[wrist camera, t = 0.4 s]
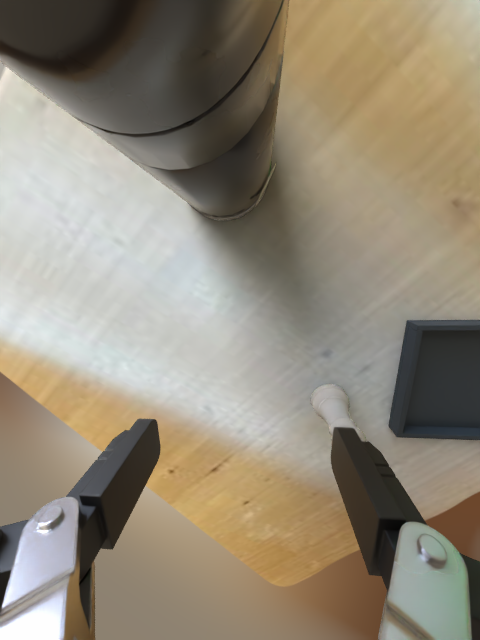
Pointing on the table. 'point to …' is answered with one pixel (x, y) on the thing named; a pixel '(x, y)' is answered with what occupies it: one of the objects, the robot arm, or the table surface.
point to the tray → (438, 381)
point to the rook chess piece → (334, 408)
